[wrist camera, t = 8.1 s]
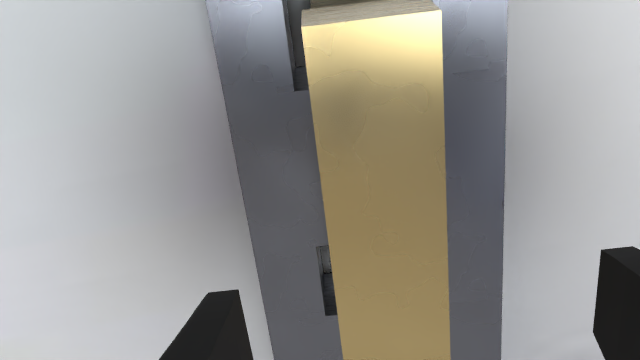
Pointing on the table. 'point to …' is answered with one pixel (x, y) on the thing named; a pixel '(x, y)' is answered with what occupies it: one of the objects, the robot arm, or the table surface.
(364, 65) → the wooden bridge block
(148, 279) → the table surface
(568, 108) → the table surface
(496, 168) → the rail
